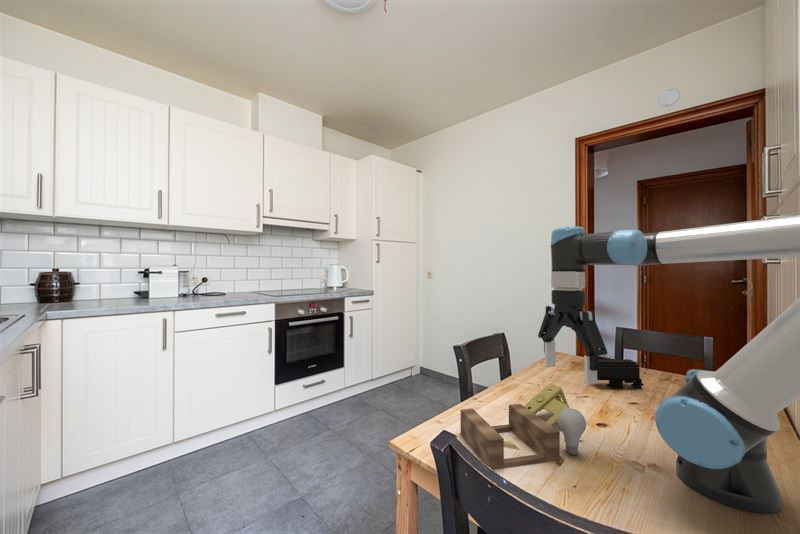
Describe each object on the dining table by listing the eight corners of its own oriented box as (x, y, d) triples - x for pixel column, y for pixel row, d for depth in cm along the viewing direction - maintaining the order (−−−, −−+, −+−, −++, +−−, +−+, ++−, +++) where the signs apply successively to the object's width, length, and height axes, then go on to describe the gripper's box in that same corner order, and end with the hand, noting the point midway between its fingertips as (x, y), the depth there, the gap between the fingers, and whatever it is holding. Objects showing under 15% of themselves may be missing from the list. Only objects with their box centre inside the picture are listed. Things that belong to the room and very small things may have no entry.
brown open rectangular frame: (559, 461, 75) (559, 431, 75) (489, 472, 71) (489, 440, 71) (519, 428, 90) (519, 403, 90) (460, 435, 86) (460, 409, 86)
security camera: (648, 390, 119) (647, 363, 119) (598, 389, 119) (598, 363, 119) (634, 383, 126) (634, 358, 126) (587, 383, 126) (587, 358, 126)
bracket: (590, 423, 93) (580, 396, 91) (556, 455, 88) (544, 427, 86) (560, 407, 103) (550, 382, 100) (529, 435, 98) (517, 409, 96)
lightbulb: (585, 464, 73) (585, 417, 73) (556, 456, 77) (556, 410, 77) (586, 452, 79) (586, 407, 79) (559, 444, 82) (559, 401, 82)
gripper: (625, 292, 68) (627, 391, 68) (547, 286, 93) (548, 359, 92) (596, 292, 67) (597, 394, 66) (524, 287, 91) (525, 361, 91)
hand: (568, 374), depth 79 cm, fingers open, 13 cm apart
